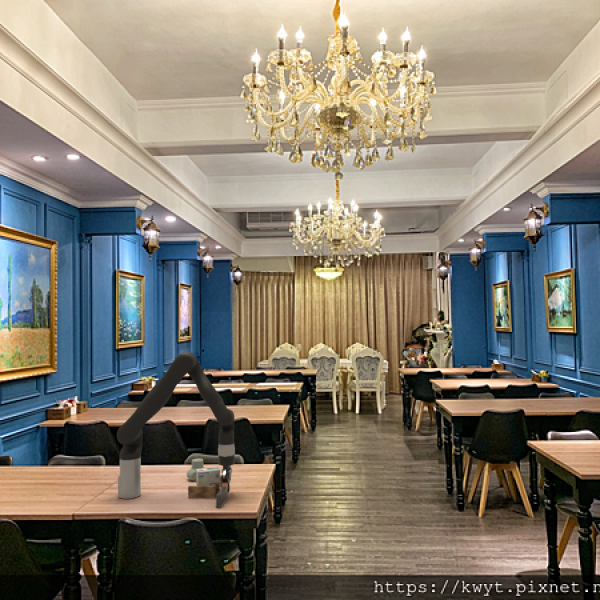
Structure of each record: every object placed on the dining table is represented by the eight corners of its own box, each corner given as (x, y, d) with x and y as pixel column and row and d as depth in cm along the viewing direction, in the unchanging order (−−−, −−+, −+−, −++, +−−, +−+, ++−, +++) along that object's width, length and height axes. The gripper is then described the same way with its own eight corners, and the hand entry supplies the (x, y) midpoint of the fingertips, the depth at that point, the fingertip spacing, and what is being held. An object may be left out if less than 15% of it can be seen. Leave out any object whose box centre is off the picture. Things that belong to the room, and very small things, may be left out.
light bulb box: (218, 489, 257) (218, 466, 258) (221, 493, 251) (220, 469, 251) (195, 491, 254) (195, 468, 254) (197, 495, 247) (197, 471, 248)
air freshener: (207, 476, 280) (207, 457, 281) (209, 480, 273) (209, 460, 273) (185, 478, 277) (185, 459, 278) (187, 482, 269) (187, 462, 270)
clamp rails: (188, 498, 244) (188, 483, 244) (198, 486, 262) (198, 473, 262) (218, 498, 243) (218, 483, 243) (227, 486, 261) (227, 473, 261)
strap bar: (216, 507, 229) (215, 491, 229) (223, 497, 243) (223, 482, 243) (220, 507, 229) (220, 491, 229) (227, 497, 243) (227, 482, 243)
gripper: (221, 450, 254) (221, 488, 253) (215, 457, 241) (215, 496, 240) (237, 450, 254) (237, 488, 253) (231, 457, 241) (232, 496, 240)
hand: (226, 492), depth 247 cm, fingers closed
